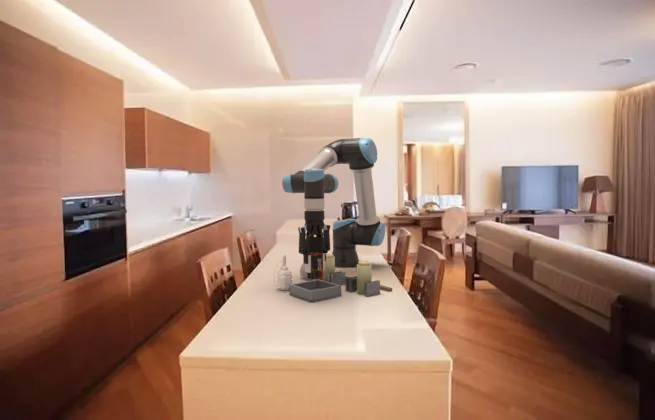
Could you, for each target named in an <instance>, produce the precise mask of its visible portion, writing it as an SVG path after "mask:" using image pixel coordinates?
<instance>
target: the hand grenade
mask: <svg viewBox="0 0 655 420" xmlns="http://www.w3.org/2000/svg"><path fill="white" fill-rule="evenodd" d="M286 256H287V255H286V254H283V256H282V259H280V260H277V261H276V263H278V262H282V264H281V265H280V266H279V265H277V267H276V268H274V273H273V274H274V275H273V283H275V278H276V279H277V280H276V284H277V287H278V288H279V289H280V290H281V291H288V290H290V285H291V284H293V274H292V270H290V269H289V266H288V265H287V257H286ZM278 268H280V269H279V270H278V271H277V275H276V269H278Z"/></svg>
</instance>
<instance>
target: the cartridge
mask: <svg viewBox="0 0 655 420" xmlns="http://www.w3.org/2000/svg"><path fill="white" fill-rule="evenodd" d="M334 272H336V267H335V257H334V256H333V254H332V253H326V261H325V270H323V278H322V280H323V281H327V282H328V273H334Z"/></svg>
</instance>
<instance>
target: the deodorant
mask: <svg viewBox="0 0 655 420" xmlns="http://www.w3.org/2000/svg"><path fill="white" fill-rule="evenodd" d="M309 255H311V273H308V272H307V278H310V279H319V278H323V238H320V237H317V236H314V237H313V239H311V247H310V252H309Z"/></svg>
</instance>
